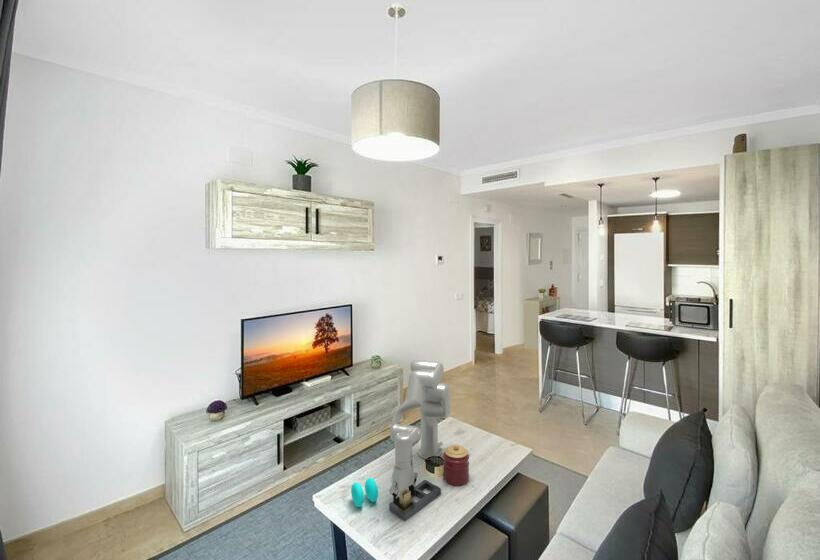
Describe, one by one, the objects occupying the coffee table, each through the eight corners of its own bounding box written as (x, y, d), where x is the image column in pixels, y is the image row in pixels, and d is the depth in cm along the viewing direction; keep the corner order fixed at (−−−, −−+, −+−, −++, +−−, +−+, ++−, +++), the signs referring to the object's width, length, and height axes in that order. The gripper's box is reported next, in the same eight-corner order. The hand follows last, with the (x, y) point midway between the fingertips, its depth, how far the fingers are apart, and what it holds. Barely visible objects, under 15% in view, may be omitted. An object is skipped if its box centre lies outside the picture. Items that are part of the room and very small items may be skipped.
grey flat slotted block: (425, 485, 181) (425, 479, 181) (441, 494, 174) (440, 488, 174) (389, 510, 163) (389, 503, 163) (405, 521, 157) (405, 514, 156)
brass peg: (404, 506, 166) (404, 487, 165) (410, 510, 163) (410, 491, 163) (397, 510, 163) (397, 491, 163) (404, 515, 161) (404, 495, 160)
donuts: (379, 505, 167) (378, 484, 166) (358, 513, 162) (358, 491, 161) (370, 492, 176) (370, 472, 175) (350, 499, 171) (350, 479, 170)
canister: (461, 468, 194) (461, 436, 193) (473, 483, 182) (473, 448, 181) (439, 473, 190) (438, 440, 189) (449, 489, 178) (449, 453, 177)
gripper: (411, 450, 170) (411, 486, 172) (383, 466, 158) (383, 505, 159) (423, 457, 165) (423, 493, 167) (395, 474, 153) (395, 513, 154)
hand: (404, 499), depth 163 cm, fingers open, 9 cm apart
